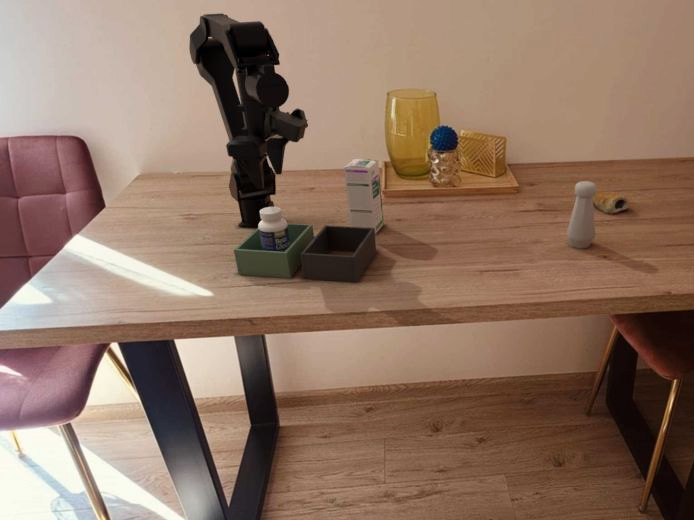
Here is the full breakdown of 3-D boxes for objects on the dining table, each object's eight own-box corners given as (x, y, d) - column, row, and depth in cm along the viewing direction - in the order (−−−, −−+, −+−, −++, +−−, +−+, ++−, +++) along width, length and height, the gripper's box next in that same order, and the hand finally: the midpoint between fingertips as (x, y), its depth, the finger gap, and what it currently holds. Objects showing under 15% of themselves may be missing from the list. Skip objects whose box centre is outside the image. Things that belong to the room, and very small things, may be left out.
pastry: (584, 202, 154) (585, 187, 152) (606, 198, 157) (608, 183, 155) (609, 215, 147) (611, 199, 145) (631, 210, 150) (634, 194, 148)
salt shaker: (596, 241, 134) (603, 180, 127) (591, 251, 130) (599, 189, 123) (568, 237, 136) (574, 177, 129) (563, 247, 131) (569, 185, 124)
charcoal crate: (303, 278, 119) (300, 254, 116) (327, 248, 131) (325, 225, 128) (356, 282, 118) (354, 257, 115) (376, 251, 130) (374, 227, 127)
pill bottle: (281, 265, 123) (273, 217, 117) (258, 260, 125) (249, 212, 119) (297, 254, 127) (290, 207, 122) (275, 250, 129) (267, 203, 123)
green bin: (238, 274, 121) (233, 249, 118) (268, 244, 132) (264, 221, 130) (290, 277, 119) (286, 253, 117) (315, 247, 131) (312, 224, 129)
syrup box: (376, 234, 137) (370, 167, 129) (349, 232, 138) (343, 165, 130) (384, 224, 142) (379, 159, 134) (358, 222, 143) (352, 157, 135)
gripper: (278, 110, 109) (291, 199, 118) (315, 89, 125) (324, 169, 133) (217, 108, 110) (234, 196, 119) (260, 87, 126) (273, 166, 134)
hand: (270, 181), depth 126 cm, fingers open, 9 cm apart
